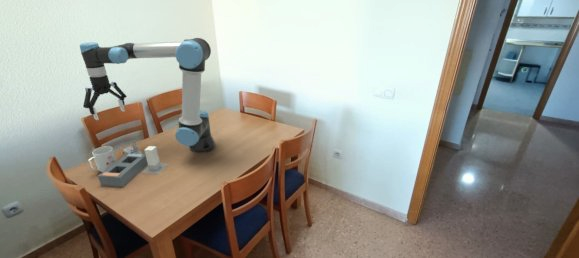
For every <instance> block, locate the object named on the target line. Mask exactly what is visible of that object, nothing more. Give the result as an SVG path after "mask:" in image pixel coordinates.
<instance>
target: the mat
mask: <svg viewBox="0 0 579 258" xmlns="http://www.w3.org/2000/svg"><path fill="white" fill-rule="evenodd" d="M160 165H161V167H160V168H159V169H158V170H157V171H156V170H149V167H148V165H146V166H145V167H144V168H143V169H142V170H141V171H140V174H149V175H150V174H152V175H160V174H161V173H162V172H163V171H164V169H165V168H167V167H168V166H169V163H162V162H160Z"/></svg>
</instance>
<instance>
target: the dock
mask: <svg viewBox="0 0 579 258" xmlns="http://www.w3.org/2000/svg"><path fill="white" fill-rule="evenodd" d="M147 166H148V163H147V159H146V155H145V153H144V154H143V153H142V154H130V153H127V154H124V155H123V156H122V157H120V158H119V159H118V160H117V162H115V163H114V164H113V165H111V166H110V167H109V168H107V169H106V170H105V171H104V172H101V173H100V174H98V175H97V177H98V181H99V183H100V186H102V187H116V188H124V187H125V186H126V185H127V184H128V183H129V182H131V181H132V179H133V178H134V177H136V176H137V175H138V174H139V173H141V172H142V171H143V170H144V169H145V168H146V167H147Z"/></svg>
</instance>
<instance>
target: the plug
mask: <svg viewBox="0 0 579 258" xmlns="http://www.w3.org/2000/svg"><path fill="white" fill-rule="evenodd" d="M143 150H144V155H146V159H147V163H148V165H147V166H148V167H149V170H156V171H157V170H158V169H159V168H160V167H161V165H160V163H161V162H160V157H159V152H158V148H157V146H155V145H149V146H147V147H146V148H144V149H143Z"/></svg>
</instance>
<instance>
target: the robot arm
mask: <svg viewBox="0 0 579 258" xmlns="http://www.w3.org/2000/svg"><path fill="white" fill-rule="evenodd" d="M79 50H80V54H81V56H82V59H83V61H84V64H85V68H86V71H87V74H88V76H89V81H90V85H91V86H92V87H85V96H84V102H83V108H85V109H88V110H89V114H91V115H92V116H93V118H94V120H96V121H99V120H100V119H99V118H100V117H99V116H98V113H97V110H96V107H94V106H95V104H96V103H97V100H98V98H99V97H100V96H101V95H104V94H108V93H109V94H111V95H113V96H115V97H116V98H117V103H118V105H119V109H120V111H121V112H124V113H125V112H126V110H125V99H126V98H127V95H126V94H125V93H124V91H123V90H122V89H121V88H120V87H119V86H118V83H117V82H116V81H111V82H110V81H109V76H108V74H107V70H106V66H105V64H113V65H115V64H116V65H120V64H125V63H127V61H128V60H131V59H132V60H134V59H153V58H154V59H155V58H157V59H158V58H159V59H163V58H165V59H166V58H175V59H176V62H177V63H178V69H179V70H180V71H181V72H182V78H181V79H182V81H181V82H182V83H181V84H182V85H181V88H182V89H181V92H182V93H181V95H182V97H181V100H182V101H181V116H180V117H179V118H178V128H177V129H176V131H175V133H174V134H175V135H174V136H175V137H174V138H175V139H176V141H177V142H179V144H180V145H182V146H186V147H188V149H189V151H190V152H193V153H197V154H198V153H199V154H200V153H208V152H211V151H212V150H214V149H215V147H216V142H215V140H214V138H213V135H212V133H211V124H210V116H209V112H208V111H206V110H201V87H202V85H201V84H202V73H204V72H205V71H206V70H205V69H206V68H205V67H206V61H207V60H208V59H209V58H210V56H211V53H212V49H211V46H210V44H209V42H208V41H206V40H205V39H204V38H202V37H195V38H191V39H186V38H185V39H183V40H182V41H170V42H167V41H164V42H142V43H141V42H139V43H137V42H136V43H135V42H134V43H133V42H125V43H123V44H118V45H114V46H105V47H103V46H101V47H100V45H99V43H97V42H94V41H93V42H81V43H80V44H79ZM111 87H113V88H114V89H115V91H114V90H113V89H111ZM116 91H117V92H116ZM92 92H93V93H92ZM92 94H93V95H92ZM91 96H92V97H91Z"/></svg>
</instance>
